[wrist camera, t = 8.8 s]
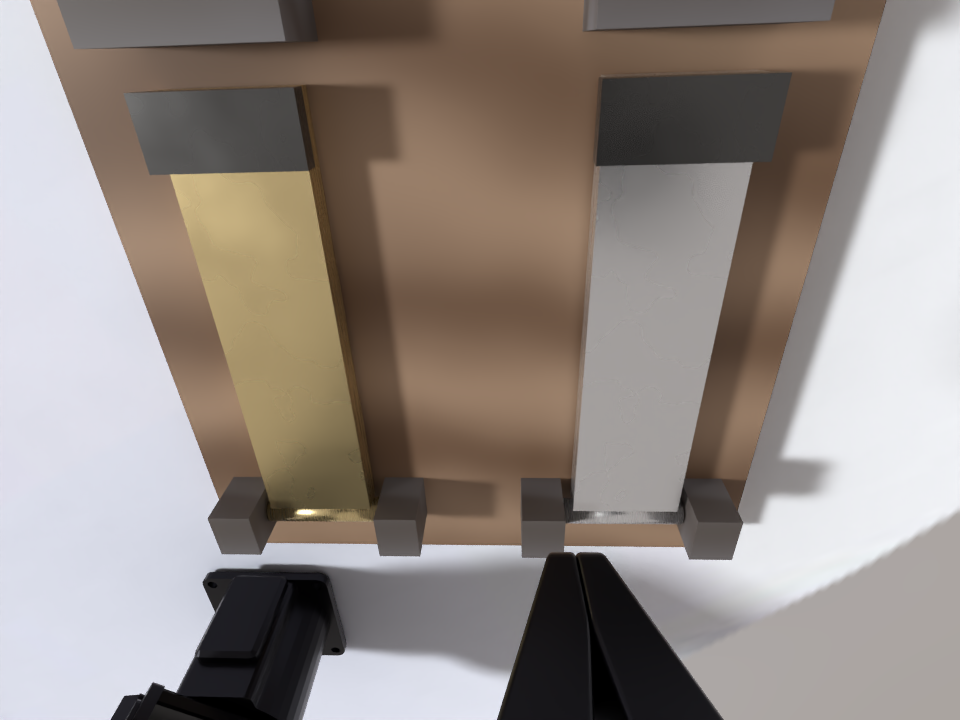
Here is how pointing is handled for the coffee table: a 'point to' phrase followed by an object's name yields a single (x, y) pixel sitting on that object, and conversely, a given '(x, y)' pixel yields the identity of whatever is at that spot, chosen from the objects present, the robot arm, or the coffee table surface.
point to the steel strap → (659, 276)
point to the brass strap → (269, 284)
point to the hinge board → (467, 234)
